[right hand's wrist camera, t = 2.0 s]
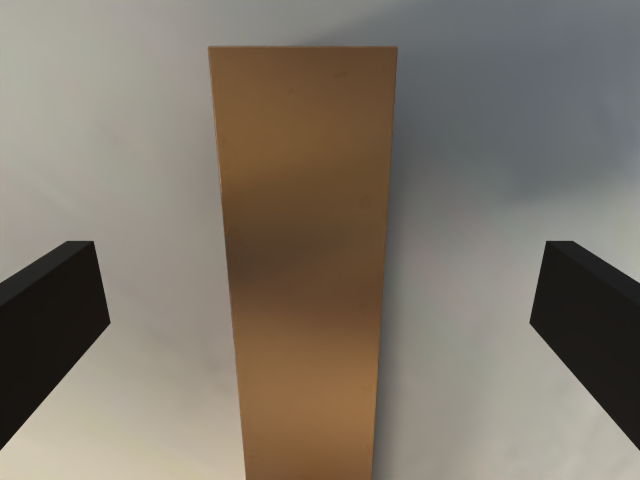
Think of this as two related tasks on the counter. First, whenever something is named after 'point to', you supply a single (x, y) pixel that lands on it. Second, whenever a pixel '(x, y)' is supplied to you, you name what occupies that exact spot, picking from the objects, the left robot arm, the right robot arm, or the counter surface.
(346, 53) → the bar
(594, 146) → the counter surface
